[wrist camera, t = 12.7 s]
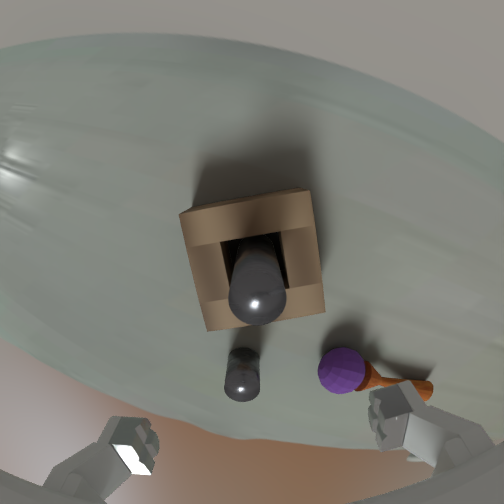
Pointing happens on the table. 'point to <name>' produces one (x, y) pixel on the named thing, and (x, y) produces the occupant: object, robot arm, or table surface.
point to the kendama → (358, 374)
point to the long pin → (256, 282)
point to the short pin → (242, 375)
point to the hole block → (245, 225)
